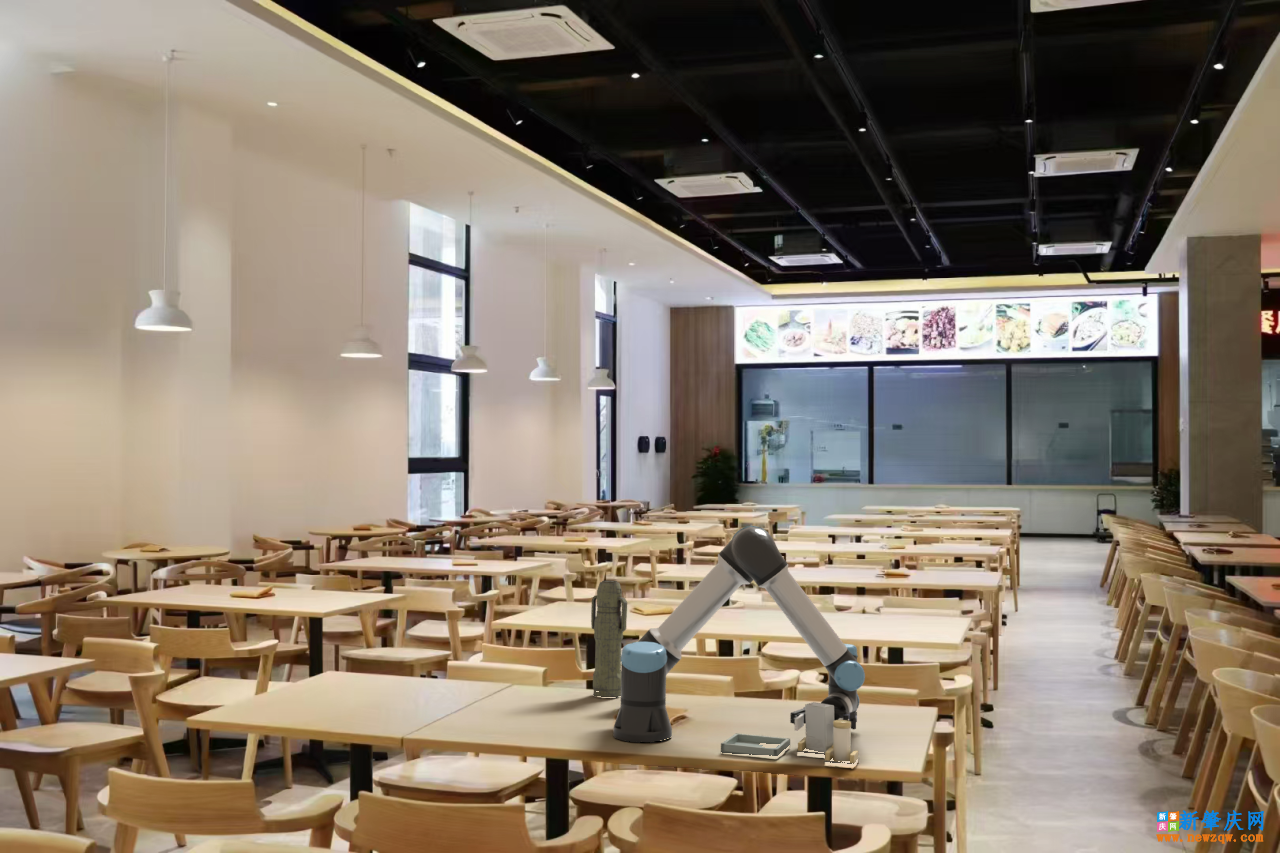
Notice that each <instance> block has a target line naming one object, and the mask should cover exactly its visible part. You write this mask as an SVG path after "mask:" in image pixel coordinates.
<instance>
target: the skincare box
mask: <svg viewBox="0 0 1280 853" xmlns="http://www.w3.org/2000/svg"><path fill="white" fill-rule="evenodd" d="M804 705H805V706H804V707H805V719H806V723H805V737H806V749H809V750H814V751H818V752H824V753H825V752H826V751H827V750H828V749H829V748H831V746H832V745H833V729H834V727H833V721H834V705H828V704H822V703H821V702H820V703H819V702H815V701H813V702H810V703H806V704H804Z"/></svg>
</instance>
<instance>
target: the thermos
mask: <svg viewBox="0 0 1280 853" xmlns="http://www.w3.org/2000/svg"><path fill="white" fill-rule="evenodd" d="M622 592H623V591H622V587H621V584H620V582H618V581H617V580H602V581H600V582H599V584H598V586H597V591H596V595H593V597H592V599H591V611H590V612H591V615H590V616H591V617H590V618H591V619H590V622H591V630H593V631H594V632H593V638H594V641H595V652H594V653H595V657H594V671H593V674H592V689H593V694H592V696H593V695H594V696H601V697H618V696H621V664H622V662H621V655H622V641H623V638H624V632H625V631H626V630H627V619H628V601H627V599H626V597H623V596H622ZM596 691H599V692H596ZM594 696H593V697H594Z"/></svg>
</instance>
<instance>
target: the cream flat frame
mask: <svg viewBox="0 0 1280 853" xmlns="http://www.w3.org/2000/svg"><path fill="white" fill-rule="evenodd" d="M805 748H806V736H804V737H803V738H802V739H801V740H799V742H797V750H796V753H797V752H804V753H815V754H824V755H825V759H824V761H823V763H824V762H830V763H831V762H832V763H841V762H838V761H830V760H831V759H832V758H833V745H832V746H831V748H829V749H828V750H827V751H826V752H825V753H818V752H808V751H803V750H804V749H805ZM858 758H859V750H853V751H852V752H850V763H847V764H852V763H853V764H854V763H855V762H856V760H857V759H858ZM842 763H843V762H842ZM844 763H845V762H844Z"/></svg>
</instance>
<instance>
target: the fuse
mask: <svg viewBox="0 0 1280 853" xmlns="http://www.w3.org/2000/svg"><path fill="white" fill-rule="evenodd" d="M833 727H834V729H833V760H834V761H840V762H842V761H850V754H851V747H852V746H851V744H852V743H851V740H852V739H851V738H852V737H851V732H852V731H851V730H852V729H851V722H850V721H847V720H834V721H833Z"/></svg>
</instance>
